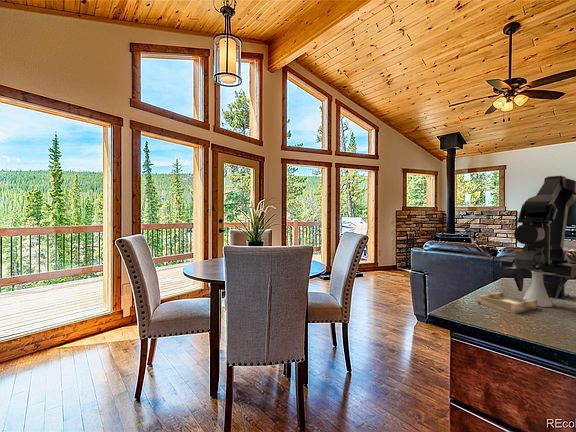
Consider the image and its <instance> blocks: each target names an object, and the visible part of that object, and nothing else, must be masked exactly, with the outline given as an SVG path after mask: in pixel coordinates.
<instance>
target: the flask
mask: <svg viewBox="0 0 576 432" xmlns="http://www.w3.org/2000/svg"><path fill="white" fill-rule="evenodd" d="M530 272H531V279H530V282H529V285H528V287H527V290H526V292H525V294H524V295H523V296H524V297H523V298H522V299H526V300H531V299H536V300H537V307H543V308H548V307H553V304H552V302H551V299H550V296H548V294H547V291H546V289H545V286H544V282H543V274H544V271H539V270H536V269H533V270H530Z"/></svg>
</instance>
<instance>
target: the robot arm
mask: <svg viewBox="0 0 576 432" xmlns="http://www.w3.org/2000/svg"><path fill="white" fill-rule="evenodd" d="M575 202H576V180H574V179H571V178H567V177H566V176H565V175H552V176H545V178H544V182H543V184H542V186H541V187H540V188H539V190H538V192H537V193H536V195H535V196H532V197H528V199H526V200H525V201H524V202H523V204H521V208H520V211H519V215H518V218H517V223H519V224H520V225H518V226H517V227H516V228H515V230H514V232H513V234H514V235H513V236H514V238H515V240H516V241H517V242H518V243H520V244H522V245H523V247H522V251H521V252H519V253H518V254H516V255H515V256H506V257H505V256H504V257H502V258H501V259H500V262H499V263H500V267H502V268H504V269H505V271H508V273H510V274H511V275H512V277H513V279H514V282H515V285H516V287H517V290H518V292H522V291H523V288H524V280H525V279H524V277H525V270H528V271H531V270H539V271H544V274H543V282H544V286H545V289H546V291H547V294H548V297H549V298H550V297H552V298H553V299H563V298H568V297H571V295H570V294H569V293H566V283H567V282H568V281H569V280H574V278H575V276H576V263H575V264H574V263H571V262H570V260H569V256H568V255H567V253H566V251H565V249H564V244H565V238H566V237H565V235H566V228H567V221H568V214H569V208H570V207H571V206H572V205H573V204H575Z"/></svg>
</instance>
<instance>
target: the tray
mask: <svg viewBox="0 0 576 432" xmlns="http://www.w3.org/2000/svg"><path fill="white" fill-rule="evenodd" d="M477 305H481V306H484V307H488V308H492V309H496V310H498V311H499V310H500V311H504V312H508V313H511V314H518V313H523V312H527V311H531V310H535V309H538V306H537V300H536V299H531V300H526V299H523V298H521V297H517V296H512V295H507V294H504V292H503V291H497V292H491V293H486V294H481V295H477Z"/></svg>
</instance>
